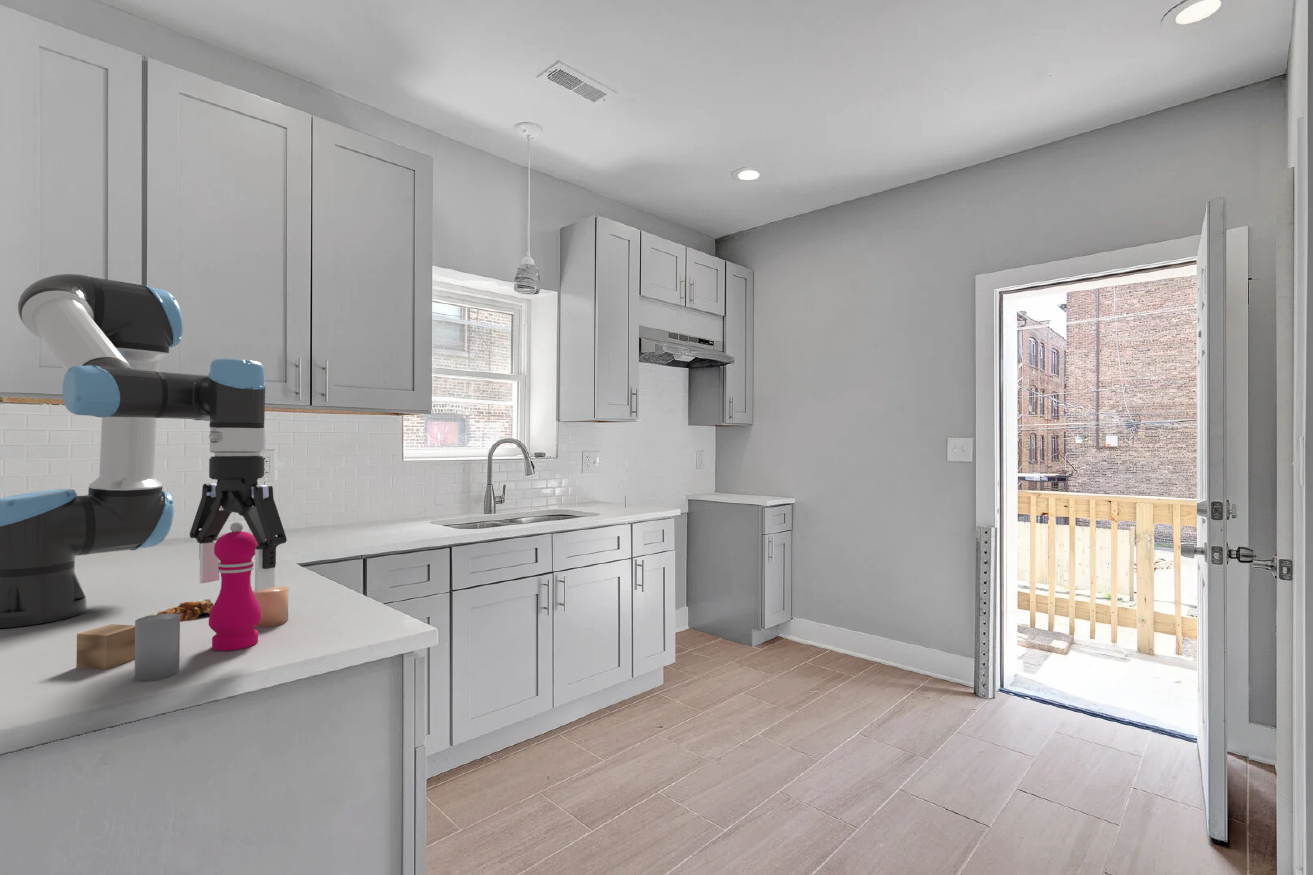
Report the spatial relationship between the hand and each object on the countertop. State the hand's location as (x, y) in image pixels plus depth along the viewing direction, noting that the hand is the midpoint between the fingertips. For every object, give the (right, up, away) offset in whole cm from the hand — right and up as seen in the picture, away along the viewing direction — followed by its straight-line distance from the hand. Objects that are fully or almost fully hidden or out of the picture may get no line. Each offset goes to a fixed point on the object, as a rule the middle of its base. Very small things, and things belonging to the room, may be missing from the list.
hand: (236, 585), depth 103 cm
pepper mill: (0, -10, 0) cm, 10 cm away
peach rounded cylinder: (-2, -10, +13) cm, 16 cm away
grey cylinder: (-2, -10, -13) cm, 16 cm away
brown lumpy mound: (-21, -10, +15) cm, 28 cm away
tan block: (-14, -10, -8) cm, 19 cm away
